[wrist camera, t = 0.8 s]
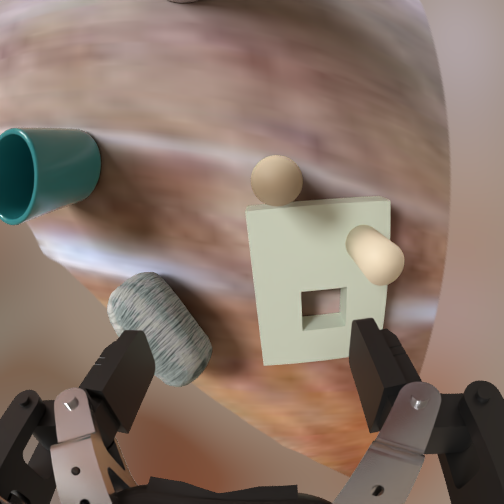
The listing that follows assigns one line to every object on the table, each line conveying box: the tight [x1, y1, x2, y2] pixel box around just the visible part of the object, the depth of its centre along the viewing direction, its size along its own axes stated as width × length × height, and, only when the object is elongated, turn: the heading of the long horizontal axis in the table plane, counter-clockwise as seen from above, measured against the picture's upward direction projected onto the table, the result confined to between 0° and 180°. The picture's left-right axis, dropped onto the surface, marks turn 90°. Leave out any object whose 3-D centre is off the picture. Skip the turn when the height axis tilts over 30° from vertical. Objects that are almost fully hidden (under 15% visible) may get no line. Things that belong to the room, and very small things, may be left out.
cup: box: [0, 128, 101, 225], centre depth 23 cm, size 9×12×11 cm
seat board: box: [245, 196, 404, 366], centre depth 27 cm, size 18×14×9 cm
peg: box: [251, 155, 303, 206], centre depth 24 cm, size 4×4×9 cm
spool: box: [107, 272, 212, 387], centre depth 30 cm, size 14×10×10 cm
